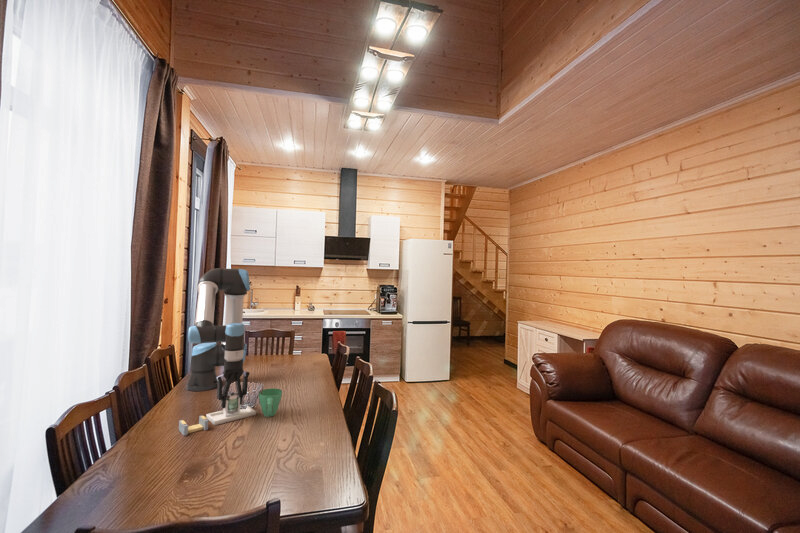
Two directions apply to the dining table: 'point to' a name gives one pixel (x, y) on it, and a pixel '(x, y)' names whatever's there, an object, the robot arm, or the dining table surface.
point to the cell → (232, 402)
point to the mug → (270, 401)
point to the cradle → (185, 429)
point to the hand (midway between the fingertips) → (231, 413)
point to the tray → (229, 416)
